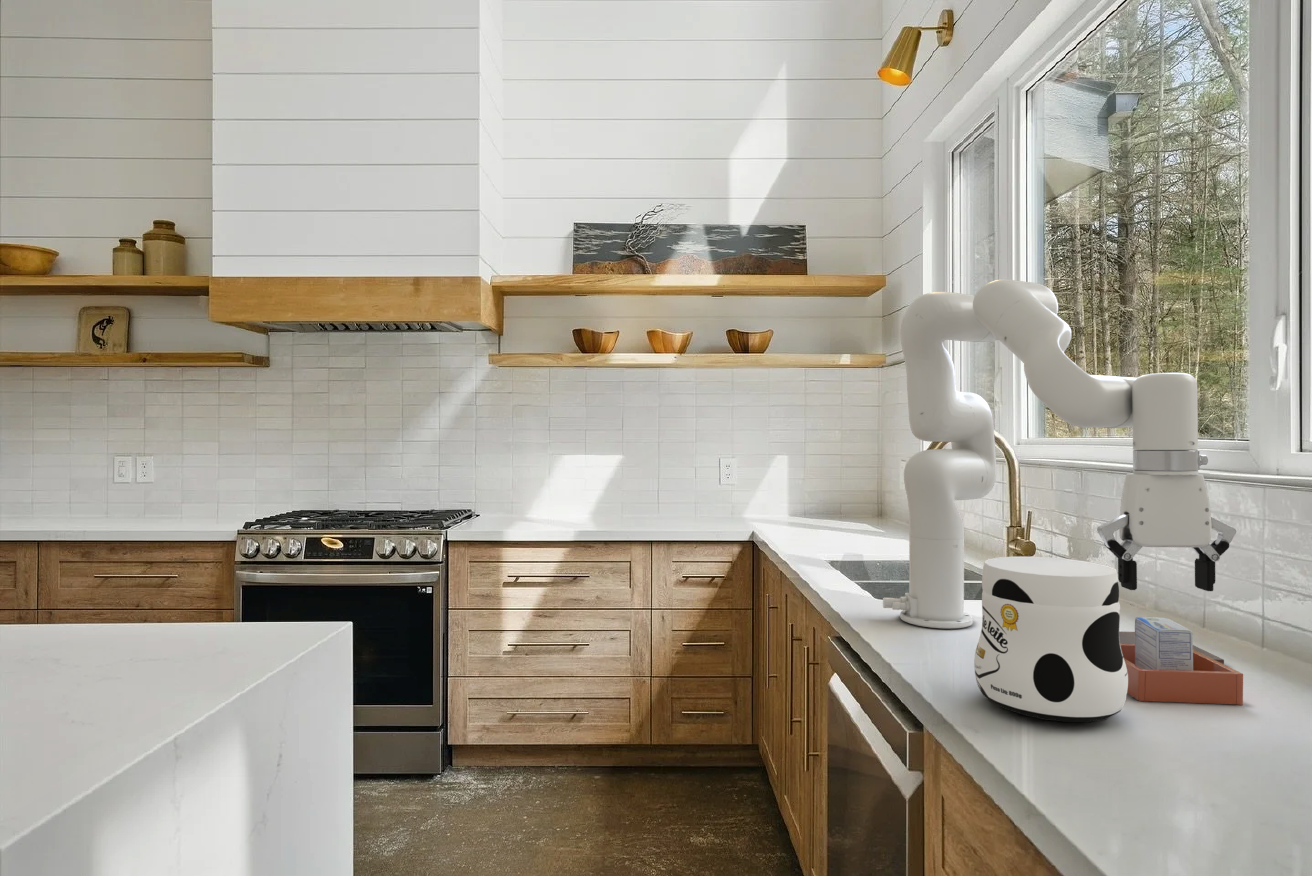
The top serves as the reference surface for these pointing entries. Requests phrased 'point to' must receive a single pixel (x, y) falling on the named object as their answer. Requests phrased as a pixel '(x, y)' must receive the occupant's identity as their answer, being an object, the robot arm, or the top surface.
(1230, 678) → the orange hollow square frame
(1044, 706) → the milk container
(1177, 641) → the medicine box
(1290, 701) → the top surface
